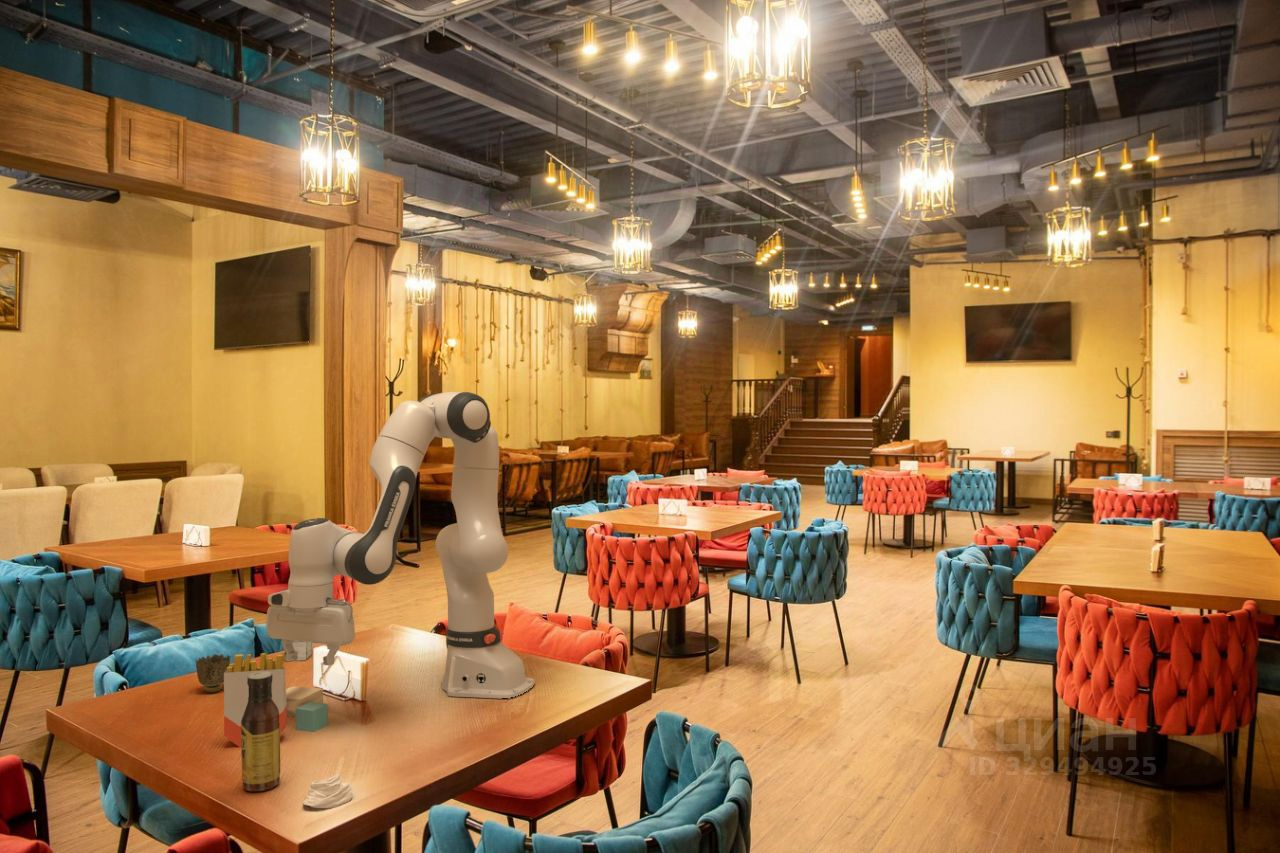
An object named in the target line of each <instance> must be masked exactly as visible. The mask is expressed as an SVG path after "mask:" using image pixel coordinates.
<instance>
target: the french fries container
mask: <svg viewBox="0 0 1280 853" xmlns="http://www.w3.org/2000/svg"><path fill="white" fill-rule="evenodd" d="M251 656H252V654H248V653H247V654H246V657H245V659H244V654H235V655H234V658H233V663H230V665H229V667H227V670H226V671H225V672H224V683H223V718H224V719H223V726H224V727H223V729H224V730H223V736H224V737H225V738H227V739H228V740H229V741H231V742H232V743H233V744H234V745H235V746H237V747H238V748H241V720H242V717H243V714H244V712H245V709H246V706H247V703H248V697H249V686H248V684H247V679H248V675H250V674H253V673H256V672H264V671H265V672H271V673H272V676H273V678H272V684H271V685H272V698H271V699H272V700H273V702H274V703H275V704H276V706H277V708H278V710H279V723H280V735H281V734H282V733H283V732H284V730H285V728H286V727H287V724H288V720H287V719H288V717H287V702H286V689H287V688H286V687H287V686H286V666H284V661H283V660H284V654H276V657H275V659H274V658H273V657H268V658H267V653H266V652H265V653H264V652H262V653H260V657H259V658H260V660H259V661H260V662H259V666H257V660H251Z"/></svg>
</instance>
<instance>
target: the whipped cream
mask: <svg viewBox="0 0 1280 853" xmlns="http://www.w3.org/2000/svg"><path fill="white" fill-rule="evenodd" d="M310 784H311V785H310V786H309V789H308V792H307V795H306V796H305V798H306V799H304V800H303V801H302V804H303V805H304V806H309V807H311V808H315V809H328V810H329V809H333V808H337V807H339V806H341V805H344V804H346V803H348V802H349V801H351V799H352V796H353V793H352V792H353V787H352V785H351V783H350V782H342V778H341V776H340V774H338V773H335V774H333V776H331V777H330V778H324V779H322V780H321V779H320V780H315V781H312V782H311V783H310Z"/></svg>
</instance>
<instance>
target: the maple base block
mask: <svg viewBox="0 0 1280 853" xmlns="http://www.w3.org/2000/svg"><path fill="white" fill-rule="evenodd" d="M286 702H287V716H288V717H296V714H295V708H298V707H300V706H302V705H304V704H307V703H309V702H316V703H324V688H320V687H319V688H316V687H303V686H290V687H288V688H286Z"/></svg>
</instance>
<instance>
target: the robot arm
mask: <svg viewBox="0 0 1280 853" xmlns="http://www.w3.org/2000/svg"><path fill="white" fill-rule="evenodd" d="M490 413H491V412H490V409H489V405H488V404H487V402H486V400H485V399H484V398H483V397H482V396H480V395H478V394H476V393H474V392H470V391H463V392H462V391H446V392H440V393H430V394H427V395H425V396H423V397H422V398H420V399H419V400H418V401H416V400H405V401H401V402H400V403H399V404H397V406H396V407H395V408H394V410H393V411H392V413H391V414H390V415H389V417H388V419H387V420H386V422H385V424H384V425H383V427H382V428H381V431H380V432H379V434H378V436H377V438H376V441H375V442H374V444H373V447H372V450H371V452H370V455H369V456H370V457H369V462H368V464H369V467H370V470H371V473H372V474H373V476H374V477H375V479H376V480H377V481H378V482H379V484H380V488H381V493H380V495H381V496H380V497H379V498H380V499H379V501H378V504H377V507H376V510H375V512H374V515H373V518H372V520H371V523H370V526H369V528H368V529H367V531H366V532H364V533H361V532H357V531H354V530H350V529H347V528H344V527H342V526H339V525H338V524H336V523H334V522H332V521H331V520H330V519H329V518H324V517H317V518H309V519H306V520H303V521H300V522H298V523H297V524H295V525H294V526H293V527H292V530H291V532H290V538H289V546H288V566H289V571H290V574H289V578H288V582H287V584H288V585H287V588H286V589H283V590H281V591H279V592H275V593H271V594H269V595H268V597H267V603H268V605H269V607H268V608H267V611H266V621H265V623H266V624H265V627H266V628H265V629H266V634H267V636H268V637H269V638H270V639H276V640H281V645H282V648H283V650H284V653H285V652H286V660H287V661H286V662H296V661H295V660H297V659H298V656H297V655H298V651H295V650H294V647H293V644H292V643H293V642H294V641H302V642H311V643H312V644H313V643H314V644H321V645H327V646H326V647H327V648H326V649H327V650H328V652H327V654H326V656H323V657H322V661H323V662H322V665H323V666H329V667H331V666H332V665H334V664H335V657H336V655H337V653H338V651H339V649H340V647H342V646H343V647H345V646H346V645H349V644H351V643H353V641H354V640H355V638H356V630H355V620H354V615H353V610H354V609H353V606H352V605H351V603H350V602H348V600H347V599H343V598H342V599H338V598H334V578H335V577H336V576H340V575H341V576H344V577H346V578H349V579H353V580H354V581H356V582H358V583H360V584H362V585H366V586H367V585H368V586H369V585H376V584H379V583H381V582H382V581H384V580H385V579H386V578H388V576H390V574H392V572H393V570H394V568H395V564H396V560H397V548H398V542H399V541H398V540H399V537H400V536H401V535H400V534H401V531H402V528H403V526H404V522H405V520H406V517H407V514H408V511H409V507H410V505H411V503H412V500H413V496H414V493H415V488H416V483H417V476H418V472H419V469H420V466H421V465H422V462H423V460H424V458H425V455H426V453H427V450H428V449H429V445H430V444H431V442H432V441H433V440H434V439H435V438H440V439H450V440H451V441H452V442H451V443H452V445H453V448H454V455H453V464H452V466H453V467H452V480H451V495H450V499H451V500H450V501H451V503H452V504H453V508H454V511H455V516H456V522H455V523H452V524H449V525H447V526H445V527H444V528H442V529H441V530H440V531H439V533H438V534H437V536H436V540H435V550H436V552H437V555H438V556H439V559H440V562H441V567H442V573H443V579H444V582H445V587H446V596H447V627H446V629H445V630H446V631H445V639H446V640H445V644H446V649H447V652H446V660H445V661H446V662H445V669H444V673H443V674H444V675H443V678H442V681H441V682H442V683H441V685H440V687H441V689H442V690H444V691H445V692H446V695H447V696H448V697H456V698H457V697H459V698H460V697H461V698H481V699H482V698H484V699H502V698H508V699H512V698H511V697H513V698H516V697H519V696H521V695H520V694H522V695H523V693H524V692H526V691H527V692H529V691H530V690H531V689H530V688H532V687H533V685H534V683H536V682H535V679H534V678H532V677H528V676H526V670H525V664H524V661H523V659H522V657H520V656H519V655H517V654H516V653H515V652H514V651H512V650H511V649H510V648H508V646H507V645H506V644H504V643H503V642H502V639H501V636H502V635H504V634H505V633H504V632H505V629H501V630H498V629H497V627H496V625H495V594H494V590H493V588H492V587H491V585H490V582H489V577H488V574H490V573H495V572H497V571H498V570H500V569H501V568H502V567H503V566H504V565H505V564H506V561H507V559H508V556H509V546H508V543H507V541H506V539H505V537H504V535H503V531H502V526H501V525H502V524H501V519H500V513H499V506H498V504H499V503H498V491H499V490H498V489H499V476H500V474H499V473H500V447H499V438H498V433H497V430H496V429H495V428H494V427H492V423H491V422H492V421H491V414H490ZM534 686H535V685H534ZM533 688H534V687H533ZM529 689H530V690H529ZM528 690H529V691H528ZM527 692H526V693H527ZM524 694H525V693H524ZM518 695H519V696H518ZM515 696H516V697H515Z"/></svg>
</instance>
